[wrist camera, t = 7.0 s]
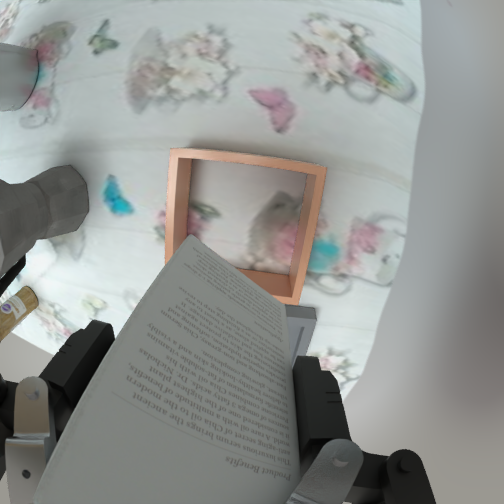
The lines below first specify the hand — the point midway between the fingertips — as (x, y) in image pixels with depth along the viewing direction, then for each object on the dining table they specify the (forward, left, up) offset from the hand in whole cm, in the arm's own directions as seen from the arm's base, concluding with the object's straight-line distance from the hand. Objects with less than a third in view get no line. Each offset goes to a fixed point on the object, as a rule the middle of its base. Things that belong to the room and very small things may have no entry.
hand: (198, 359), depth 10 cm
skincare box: (0, 0, -5) cm, 5 cm away
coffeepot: (+1, -24, -21) cm, 32 cm away
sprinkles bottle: (+18, -36, -21) cm, 46 cm away
